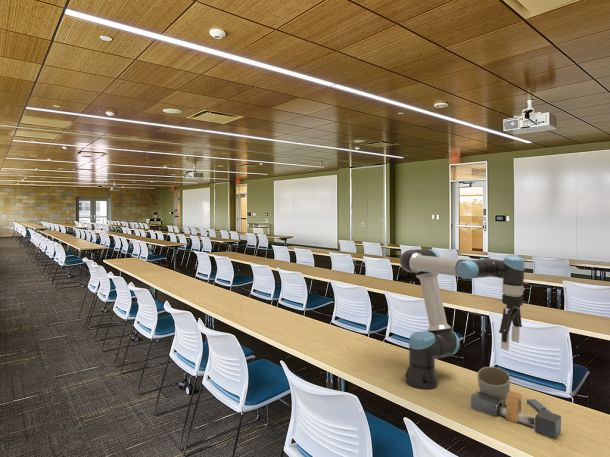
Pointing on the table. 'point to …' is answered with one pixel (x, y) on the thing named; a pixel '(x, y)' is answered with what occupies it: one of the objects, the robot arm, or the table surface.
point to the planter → (494, 382)
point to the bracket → (536, 405)
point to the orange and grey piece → (515, 410)
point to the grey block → (485, 403)
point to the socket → (548, 424)
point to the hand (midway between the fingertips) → (510, 345)
